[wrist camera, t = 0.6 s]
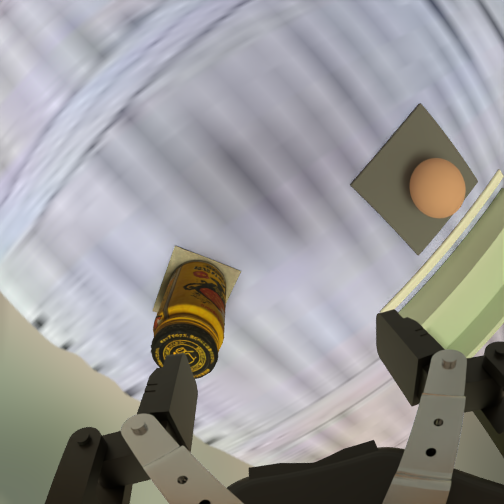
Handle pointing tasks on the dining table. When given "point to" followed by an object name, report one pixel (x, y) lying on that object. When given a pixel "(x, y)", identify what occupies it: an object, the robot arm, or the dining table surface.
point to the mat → (409, 177)
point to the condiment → (192, 310)
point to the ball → (437, 188)
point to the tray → (466, 288)
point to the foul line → (445, 244)
